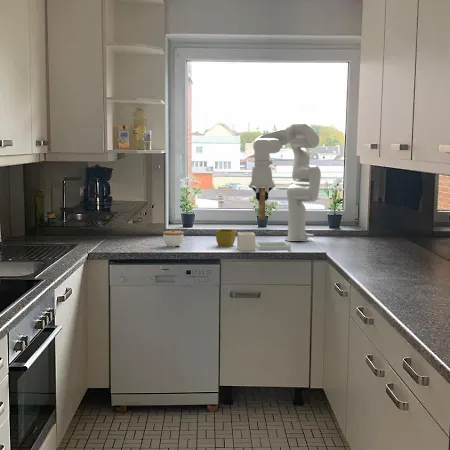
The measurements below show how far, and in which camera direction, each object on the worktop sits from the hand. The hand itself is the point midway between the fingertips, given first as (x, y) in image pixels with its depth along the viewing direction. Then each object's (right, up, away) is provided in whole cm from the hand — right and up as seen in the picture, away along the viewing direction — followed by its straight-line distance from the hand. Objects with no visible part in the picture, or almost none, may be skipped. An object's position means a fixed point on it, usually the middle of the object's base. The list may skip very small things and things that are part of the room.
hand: (262, 200), depth 322 cm
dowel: (0, -10, +1) cm, 10 cm away
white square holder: (-8, -26, 0) cm, 27 cm away
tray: (+6, -25, +5) cm, 26 cm away
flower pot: (-18, -25, +11) cm, 32 cm away
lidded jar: (-46, -24, +14) cm, 53 cm away
